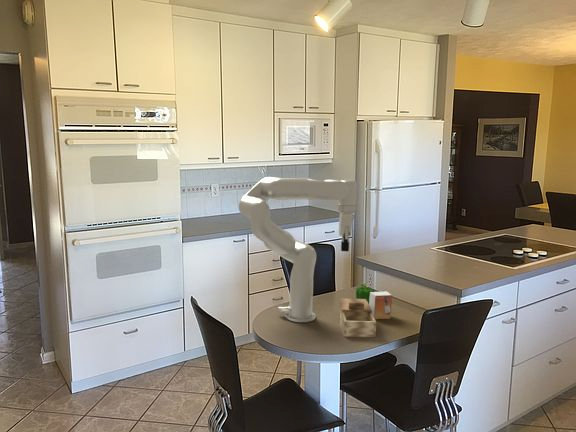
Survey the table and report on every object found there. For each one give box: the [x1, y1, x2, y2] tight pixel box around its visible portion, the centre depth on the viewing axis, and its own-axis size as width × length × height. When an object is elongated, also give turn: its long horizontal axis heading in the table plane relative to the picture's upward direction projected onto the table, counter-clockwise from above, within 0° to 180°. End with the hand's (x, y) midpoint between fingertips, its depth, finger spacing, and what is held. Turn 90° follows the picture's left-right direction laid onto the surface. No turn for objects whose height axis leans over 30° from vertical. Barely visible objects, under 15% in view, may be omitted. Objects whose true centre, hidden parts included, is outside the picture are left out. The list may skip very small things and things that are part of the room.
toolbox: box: [339, 310, 377, 338], centre depth 190 cm, size 12×14×6 cm
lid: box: [337, 298, 372, 312], centre depth 200 cm, size 12×14×3 cm
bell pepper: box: [355, 282, 376, 304], centre depth 220 cm, size 8×8×10 cm
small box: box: [369, 291, 393, 320], centre depth 205 cm, size 8×6×10 cm
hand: (344, 250), depth 208 cm, fingers closed
